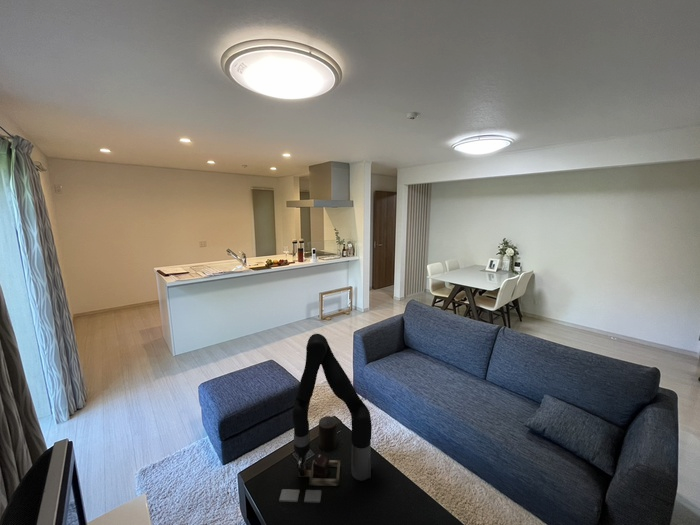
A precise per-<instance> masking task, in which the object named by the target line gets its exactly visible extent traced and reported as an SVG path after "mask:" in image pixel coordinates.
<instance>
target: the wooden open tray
mask: <svg viewBox="0 0 700 525" xmlns="http://www.w3.org/2000/svg"><path fill="white" fill-rule="evenodd" d="M314 461H315V459H312V464H311V469H307V462H306V463H305V465H304V468H305V469H304V476H300V472H298V477H300V478H309V480H308V484H309V486H327V487H329V486H330V487H333V486H334V487H339V485H340V477H341V476H340V475H341V474H340V472H341V460H336V459H335V460H333V459H329V468H330V467H333V468H336V476H335V477H336V478H326V479H321V478H316V477H314V476H313V463H314Z"/></svg>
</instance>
